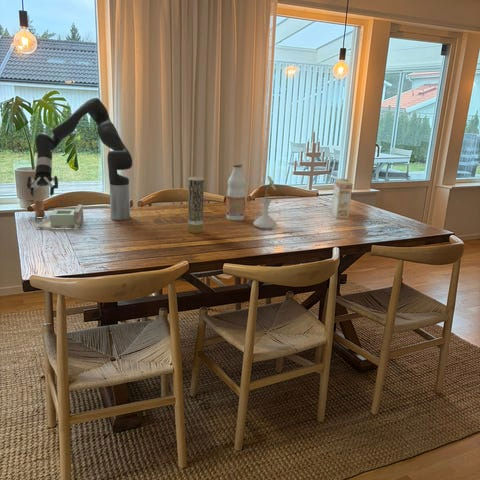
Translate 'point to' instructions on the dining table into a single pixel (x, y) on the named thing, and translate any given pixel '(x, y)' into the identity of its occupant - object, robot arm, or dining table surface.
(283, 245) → the dining table surface
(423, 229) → the dining table surface
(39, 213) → the dowel
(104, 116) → the robot arm
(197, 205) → the paper tube
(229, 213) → the fruit juice
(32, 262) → the dining table surface
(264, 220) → the flower in vase
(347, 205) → the coffeecake box
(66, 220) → the socket block
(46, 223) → the backstop board
